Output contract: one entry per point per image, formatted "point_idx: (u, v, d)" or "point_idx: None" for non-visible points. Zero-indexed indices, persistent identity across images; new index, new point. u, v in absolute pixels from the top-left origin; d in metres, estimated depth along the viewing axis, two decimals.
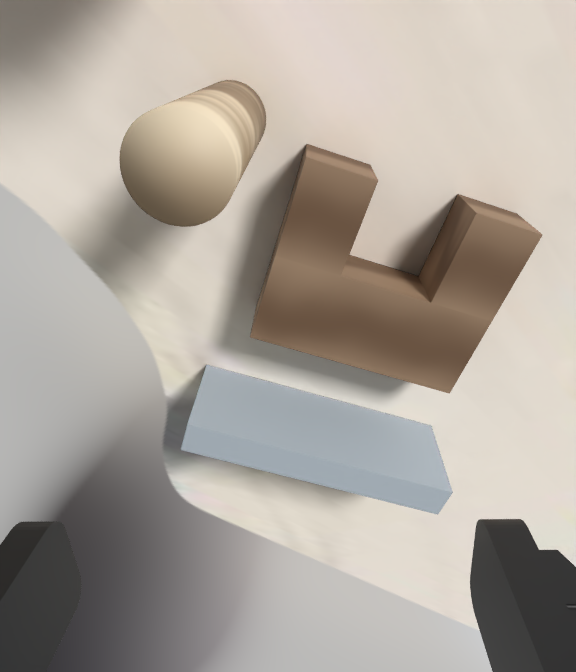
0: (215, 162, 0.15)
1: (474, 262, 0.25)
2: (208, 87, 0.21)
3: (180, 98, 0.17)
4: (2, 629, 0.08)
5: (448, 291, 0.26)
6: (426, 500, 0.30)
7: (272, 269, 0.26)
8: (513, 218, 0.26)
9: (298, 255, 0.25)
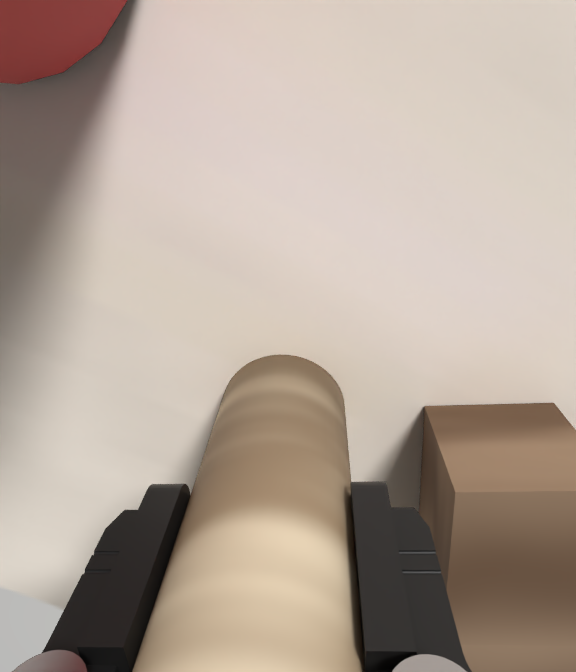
0: None
1: None
2: (224, 468, 0.10)
3: None
4: (160, 575, 0.09)
5: None
6: None
7: None
8: None
9: (487, 635, 0.13)
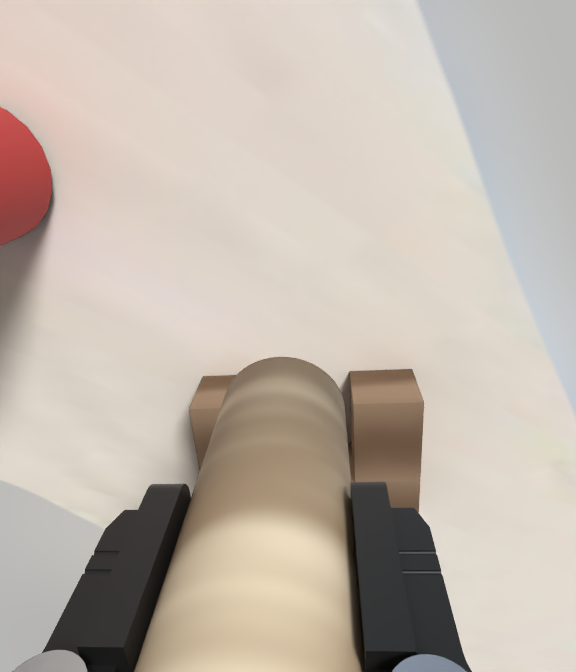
0: None
1: (374, 440, 0.26)
2: (225, 471, 0.10)
3: None
4: (160, 575, 0.09)
5: (365, 469, 0.27)
6: None
7: None
8: (400, 385, 0.27)
9: None
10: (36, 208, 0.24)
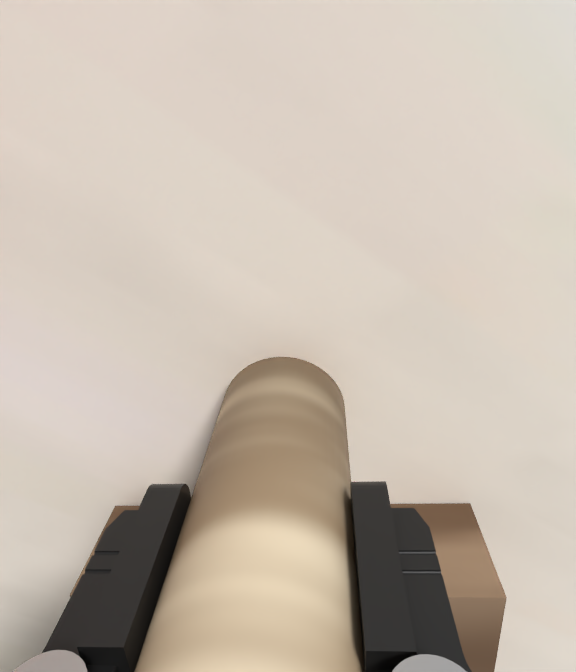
0: None
1: None
2: (225, 471, 0.10)
3: None
4: (160, 575, 0.09)
5: None
6: None
7: None
8: (455, 546, 0.15)
9: None
10: None
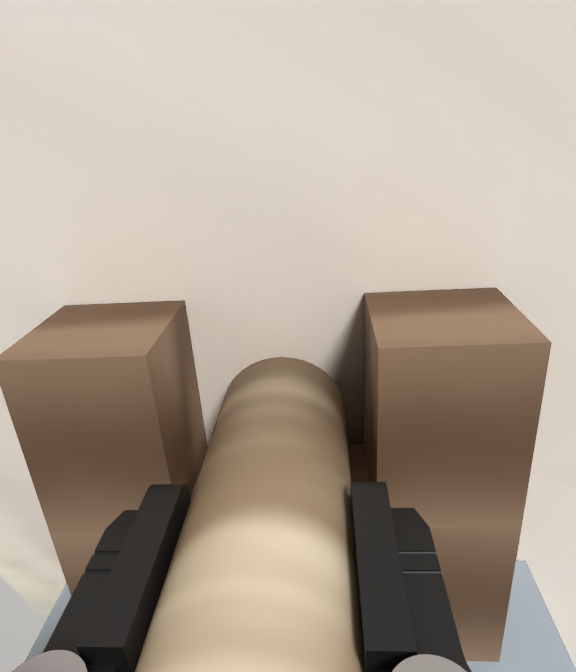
0: None
1: (424, 437, 0.11)
2: (225, 471, 0.10)
3: None
4: (160, 575, 0.09)
5: (400, 501, 0.12)
6: None
7: (58, 552, 0.14)
8: (481, 313, 0.12)
9: (87, 520, 0.13)
10: None
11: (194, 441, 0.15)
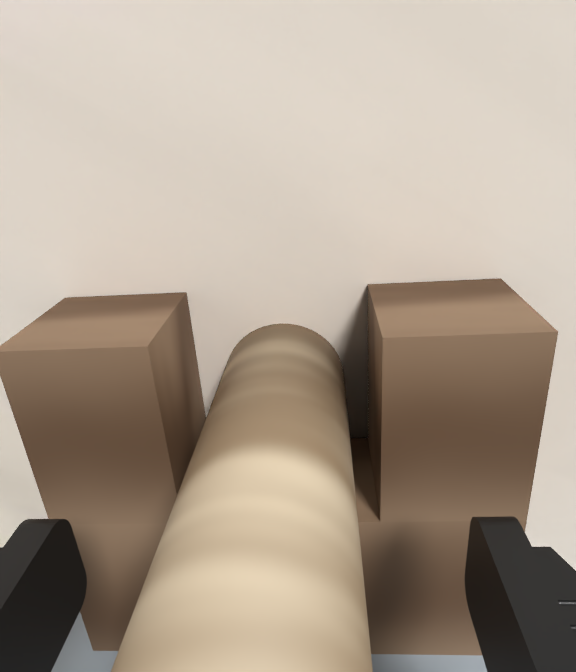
0: None
1: (429, 428, 0.11)
2: (228, 416, 0.10)
3: (155, 631, 0.06)
4: (10, 625, 0.08)
5: (405, 493, 0.12)
6: None
7: None
8: (486, 303, 0.12)
9: (89, 513, 0.13)
10: None
11: (196, 435, 0.14)
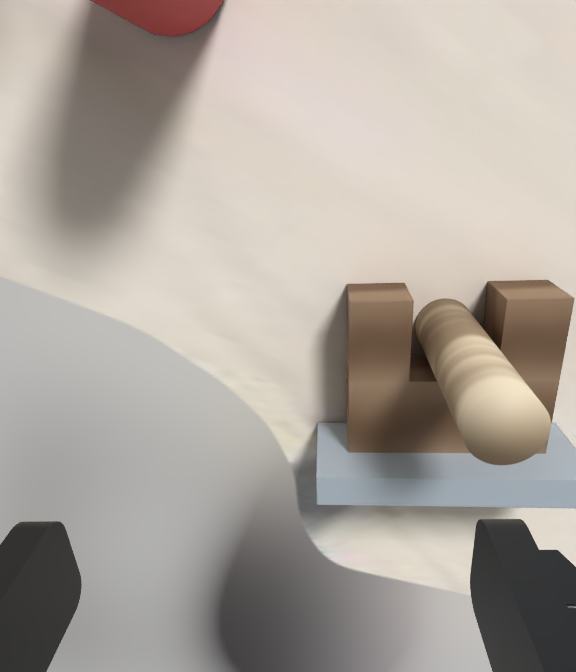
0: (534, 418, 0.20)
1: (521, 337, 0.28)
2: (449, 328, 0.27)
3: (470, 367, 0.23)
4: (2, 629, 0.08)
5: None
6: (575, 496, 0.29)
7: (350, 393, 0.30)
8: (544, 289, 0.29)
9: (368, 376, 0.30)
10: None
11: None
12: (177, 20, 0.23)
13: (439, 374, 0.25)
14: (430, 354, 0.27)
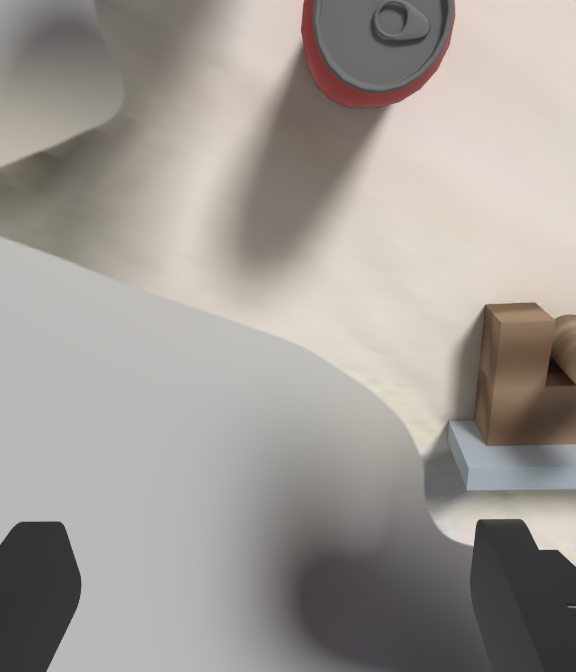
0: None
1: None
2: None
3: None
4: (2, 629, 0.08)
5: None
6: None
7: (493, 397, 0.36)
8: None
9: (510, 383, 0.35)
10: None
11: None
12: None
13: None
14: (571, 365, 0.33)
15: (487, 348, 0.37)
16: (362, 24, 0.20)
